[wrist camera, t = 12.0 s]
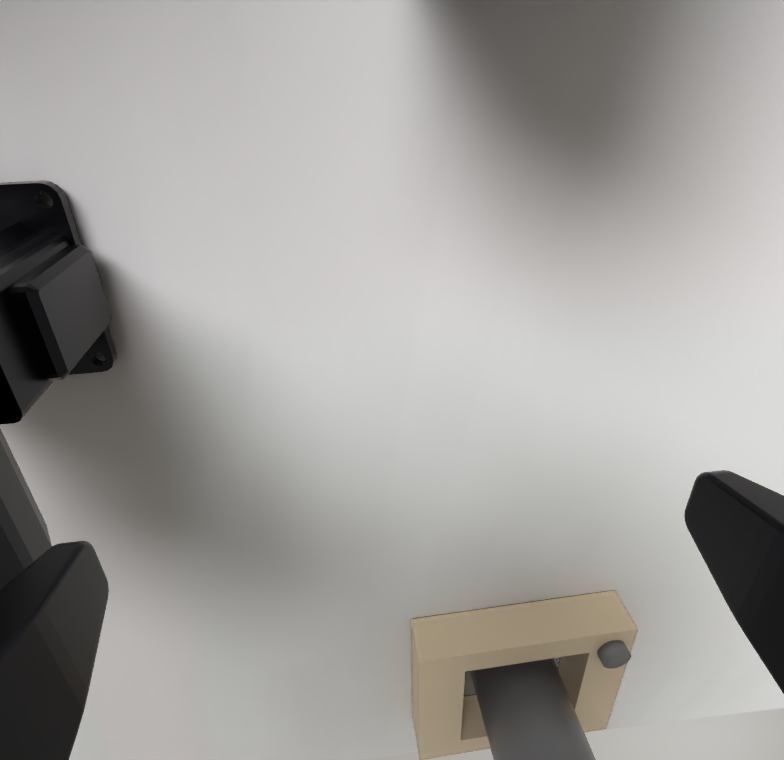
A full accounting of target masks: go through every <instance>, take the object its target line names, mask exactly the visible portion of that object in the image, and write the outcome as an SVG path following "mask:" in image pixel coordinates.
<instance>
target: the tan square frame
mask: <svg viewBox="0 0 784 760" xmlns="http://www.w3.org/2000/svg"><path fill="white" fill-rule="evenodd" d="M637 631H638V628H637V626H636V625H635V623H634V621H633V620H632V618H631V616H630V615H629V613H628V611H627V610H626V608H625V606H624V605H623V603H622V601H621V600H620V598H619V596H618V595H617V593H616V591H615V590H614V591H607V592H599V593H592V594H585V595H578V596H571V597H564V598H557V599H550V600H543V601H536V602H529V603H522V604H515V605H507V606H500V607H493V608H486V609H479V610H472V611H465V612H458V613H451V614H444V615H437V616H430V617H423V618H415V619H411V644H412V706H413V723H414V729H415V735H416V741H417V747H418V753H419V759H420V760H424V759H430V758H435V757H441V756H447V755H453V754H459V753H465V752H471V751H477V750H482V749H489V748H491V747H490V744H489V740H488V736H487V733H486V729H485V725H484V721H483V718H482V714H481V710H480V707H479V703H478V699H477V696H476V695H470V696H464V683H465V672H466V671H473V670H479V669H486V668H492V667H499V666H505V665H512V664H519V663H525V662H532V661H538V660H545V659H551V658H558V657H561V658H560V663H559V667H558V671H559V674H560V676H561V679H562V681H563V683H564V686H565V688H566V691H567V693H568V695H569V698H570V700H571V703H572V705H573V707H574V710H575V712H576V714H577V717H578V719H579V722H580V724H581V726H582V729H583V731H584V732H589V731H595V730H601V729H606V727H607V724H608V721H609V718H610V715H611V712H612V708H613V705H614V702H615V699H616V696H617V693H618V690H619V687H620V684H621V680H622V677H623V674H624V671H625V668H626V665H627V662H628V661H629V660H630V658H631V654H630V653H631V649H632V646H633V643H634V640H635V637H636V634H637Z"/></svg>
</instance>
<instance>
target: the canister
mask: <svg viewBox="0 0 784 760" xmlns="http://www.w3.org/2000/svg"><path fill="white" fill-rule="evenodd" d="M470 673H471V677H472V681H473V684H474V688H475V692H476V696H477V699H478V703H479V707H480V710H481V714H482V718H483V721H484V725H485V729H486V733H487V736H488V740H489V744H490V747H491V751H492V754H493V758H494V760H595V757H594V755H593V753H592V750H591V748H590V745H589V743H588V741H587V738H586V736H585V734H584V731H583V729H582V726H581V724H580V722H579V719H578V717H577V714H576V712H575V710H574V707H573V705H572V703H571V700H570V698H569V695H568V693H567V691H566V688H565V686H564V683H563V681H562V679H561V676H560V674H559V671H558V669H557V667H556V664H555V662H554V660H553V658H551V659H545V660H538V661H532V662H525V663H519V664H512V665H505V666H499V667H492V668H486V669H479V670H473V671H470Z"/></svg>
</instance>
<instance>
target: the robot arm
mask: <svg viewBox="0 0 784 760" xmlns="http://www.w3.org/2000/svg"><path fill="white" fill-rule="evenodd" d="M41 191H42V192H46V193H47V194H49V195H50V196H51V198H52V199H53V205H52V206H49V205H46V204H45V203H43V202H42V200H41V198H40V193H41ZM111 321H112V316H111V313H110V310H109V307H108V304H107V301H106V297H105V294H104V291H103V288H102V285H101V282H100V278H99V275H98V272H97V269H96V266H95V263H94V260H93V256H92V253H91V251H90V250H88V249H87V248H86V247H85V246H84V245H81V242H80V238H79V235H78V232H77V229H76V226H75V223H74V220H73V217H72V214H71V211H70V207H69V204H68V201H67V198H66V196H65V194H64V192H63V190H62V189H61V188H60V187H59V186H58V185H56V184H54V183H52V182H49V181H28V182H8V183H0V424H10V423H16V422H19V421H20V420H21V419H22V418H23V416H24V415H25V414H26V413H27V412H28V410H29V409H30V408H31V407H32V406H33V405H34V403H35V402H36V401H37V400H38V399H39V397H40V396H41V395H42V394H43V393H44V392H45V390H46V389H47V388H48V387H49V386H50V384H51V383H52V382H53V381H54V380H60V379H64V378H65V377H66V376H67V375H70V374H82V373H93V372H103V371H107V370H109V369H110V368H111V367H112V366H113V365H114V363H115V361H116V359H117V353H116V350H115V347H114V344H113V341H112V338H111V334H110V331H109V328H108V325H109V323H110V322H111ZM95 353H100V354H102V355H104V356H105V358H106V360H105V361H102V360H99V359H97V358H96V356H95ZM685 522H686V525H687V528H688V530H689V532H690V534H691V536H692V538H693V540H694V542H695V543H696V545H697V547H698V549H699V551H700V553H701V555H702V557H703V559H704V561H705V563H706V564H707V566H708V568H709V570H710V572H711V574H712V576H713V578H714V580H715V582H716V584H717V585H718V587H719V589H720V591H721V593H722V595H723V597H724V599H725V601H726V603H727V604H728V606H729V608H730V610H731V612H732V613H733V615H734V617H735V619H736V620H737V622H738V624H739V625H740V627H741V628H742V630H743V632H744V633H745V635H746V636H747V638H748V639H749V641H750V643H751V644H752V646H753V647H754V649H755V650H756V652H757V653H758V655H759V656H760V658H761V660H762V661H763V663H764V664H765V666H766V667H767V669H768V670H769V672H770V673H771V675H772V677H773V678H774V680H775V681H776V683H777V684H778V686H779V687H780V689H781V690H782V692H783V694H784V496H783V495H781V494H779V493H777V492H774V491H772V490H770V489H768V488H766V487H763V486H761V485H759V484H757V483H755V482H752V481H750V480H748V479H746V478H744V477H742V476H739V475H737V474H735V473H733V472H730V471H725V470H721V471H712V472H704V473H701V474H700V475H699V476H698V477H697V478H696V480H695V483H694V485H693V488H692V491H691V494H690V497H689V500H688V503H687V506H686V509H685ZM107 600H108V581H107V578H106V576H105V573H104V571H103V569H102V566H101V564H100V562H99V559H98V557H97V555H96V552H95V550H94V548H93V546H92V545H91V544H90V543H89V542H87V541H78V542H69V543H60V544H57V545H55V546H53V547H52V545H51V541H50V538H49V534H48V530H47V526H46V523H45V521H44V519H43V517H42V515H41V513H40V511H39V509H38V506H37V504H36V502H35V500H34V498H33V496H32V494H31V492H30V490H29V488H28V485H27V483H26V481H25V479H24V477H23V475H22V473H21V471H20V469H19V467H18V465H17V462H16V460H15V458H14V456H13V454H12V452H11V450H10V448H9V446H8V444H7V441H6V439H5V437H4V435H3V433H2V431H1V429H0V760H69V757H70V754H71V751H72V748H73V745H74V742H75V738H76V735H77V732H78V729H79V725H80V722H81V719H82V715H83V712H84V708H85V704H86V699H87V695H88V691H89V686H90V681H91V677H92V672H93V667H94V662H95V657H96V653H97V648H98V643H99V638H100V633H101V629H102V624H103V619H104V614H105V609H106V605H107Z"/></svg>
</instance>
